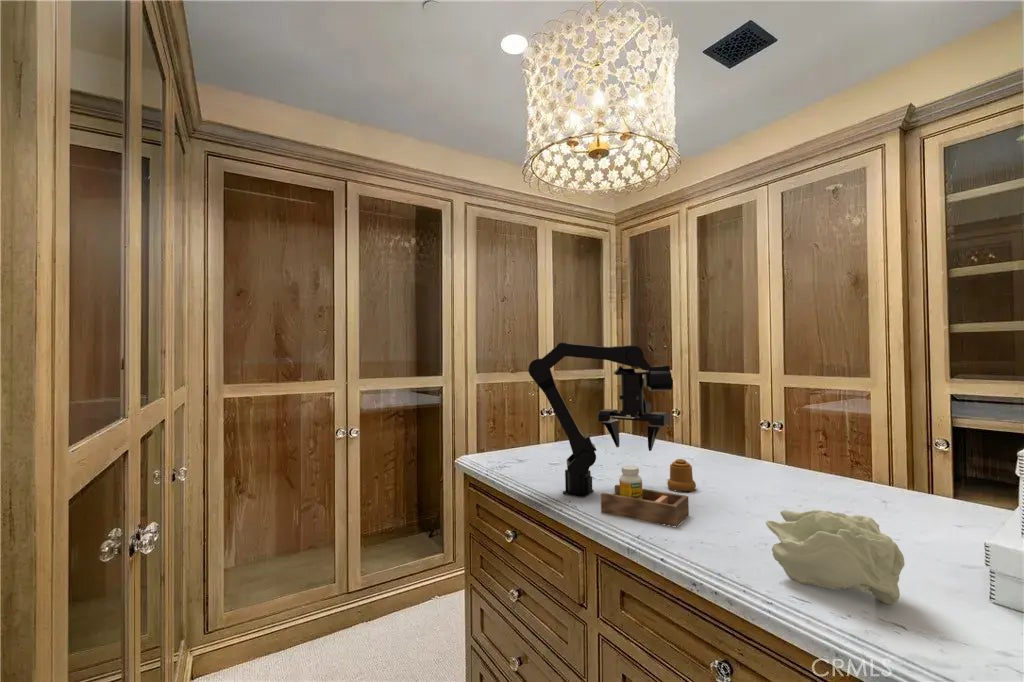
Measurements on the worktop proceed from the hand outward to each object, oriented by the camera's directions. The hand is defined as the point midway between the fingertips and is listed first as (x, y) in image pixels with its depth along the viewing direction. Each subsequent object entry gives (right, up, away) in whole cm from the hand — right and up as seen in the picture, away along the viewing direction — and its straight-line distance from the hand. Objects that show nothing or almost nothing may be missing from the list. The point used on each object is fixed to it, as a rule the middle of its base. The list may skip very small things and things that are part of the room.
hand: (633, 448), depth 130 cm
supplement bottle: (-4, -11, -14) cm, 19 cm away
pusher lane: (-2, -12, -16) cm, 20 cm away
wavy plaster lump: (+19, -11, -52) cm, 56 cm away
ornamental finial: (+14, -12, +3) cm, 19 cm away
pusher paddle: (+2, -10, -19) cm, 21 cm away
